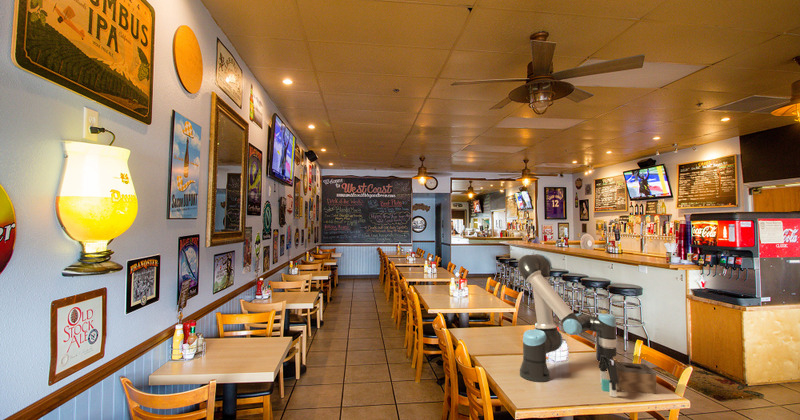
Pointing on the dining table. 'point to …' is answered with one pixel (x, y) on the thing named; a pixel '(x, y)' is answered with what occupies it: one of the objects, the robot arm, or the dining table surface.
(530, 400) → the dining table surface
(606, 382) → the teal flat square block
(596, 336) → the bottle
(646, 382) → the coin box
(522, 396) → the dining table surface
